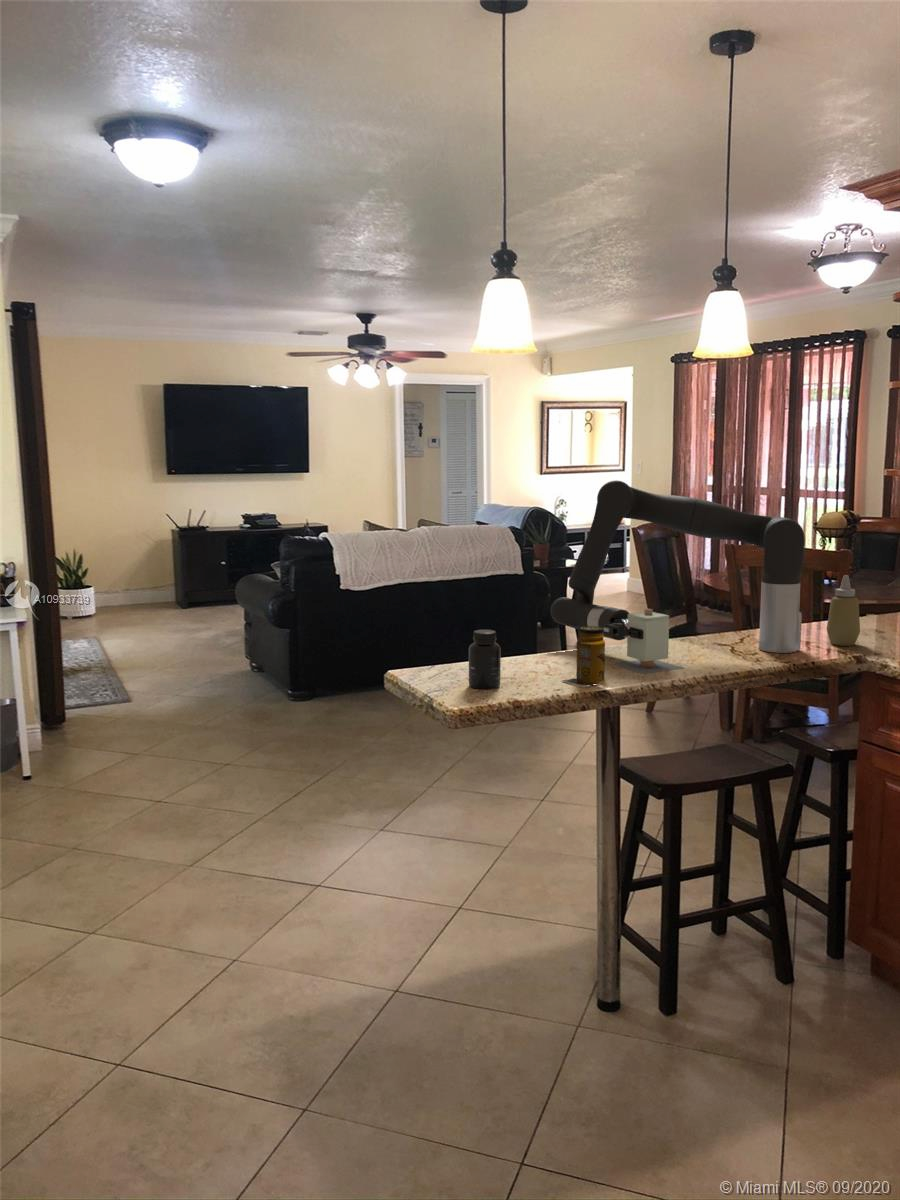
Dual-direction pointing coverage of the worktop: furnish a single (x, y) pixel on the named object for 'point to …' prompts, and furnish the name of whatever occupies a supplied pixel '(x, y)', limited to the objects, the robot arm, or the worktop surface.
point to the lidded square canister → (649, 636)
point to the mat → (636, 667)
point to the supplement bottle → (484, 661)
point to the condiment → (589, 657)
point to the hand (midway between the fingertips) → (654, 633)
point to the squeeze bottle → (844, 616)
